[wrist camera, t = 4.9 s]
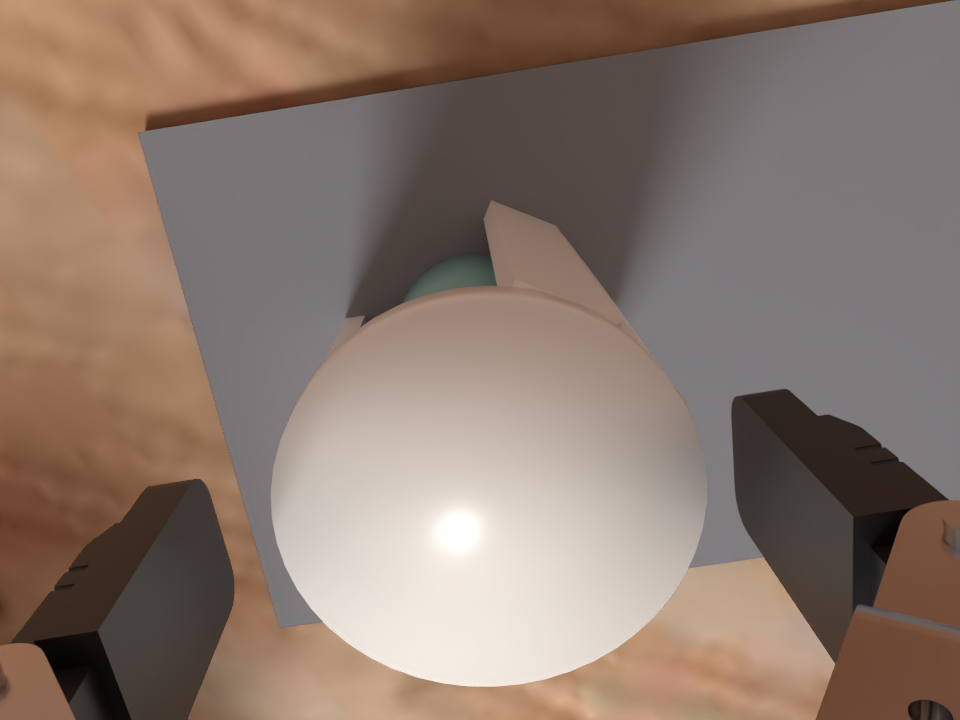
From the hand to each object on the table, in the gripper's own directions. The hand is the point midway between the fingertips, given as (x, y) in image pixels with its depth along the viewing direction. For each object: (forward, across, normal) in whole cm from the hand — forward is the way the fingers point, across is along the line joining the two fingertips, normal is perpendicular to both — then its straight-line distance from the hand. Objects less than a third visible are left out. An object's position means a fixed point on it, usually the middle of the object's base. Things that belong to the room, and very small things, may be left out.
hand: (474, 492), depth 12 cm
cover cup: (+9, 0, 0) cm, 9 cm away
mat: (+9, -5, +1) cm, 10 cm away
